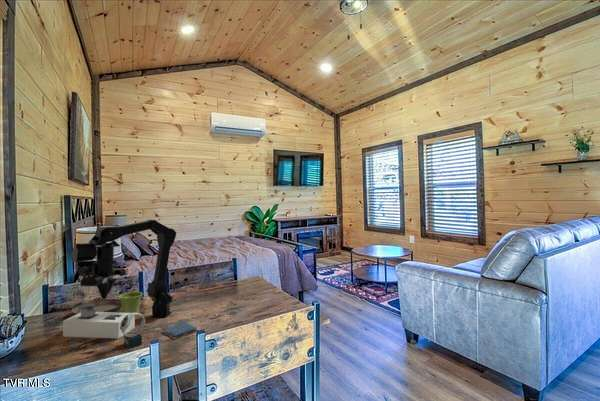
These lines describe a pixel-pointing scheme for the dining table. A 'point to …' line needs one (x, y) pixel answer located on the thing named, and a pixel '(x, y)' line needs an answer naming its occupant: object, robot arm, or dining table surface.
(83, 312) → the peg
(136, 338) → the watch
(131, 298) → the plant pot
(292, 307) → the dining table surface
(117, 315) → the peg
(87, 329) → the sleeve block
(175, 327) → the woven mat
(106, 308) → the plant saucer
